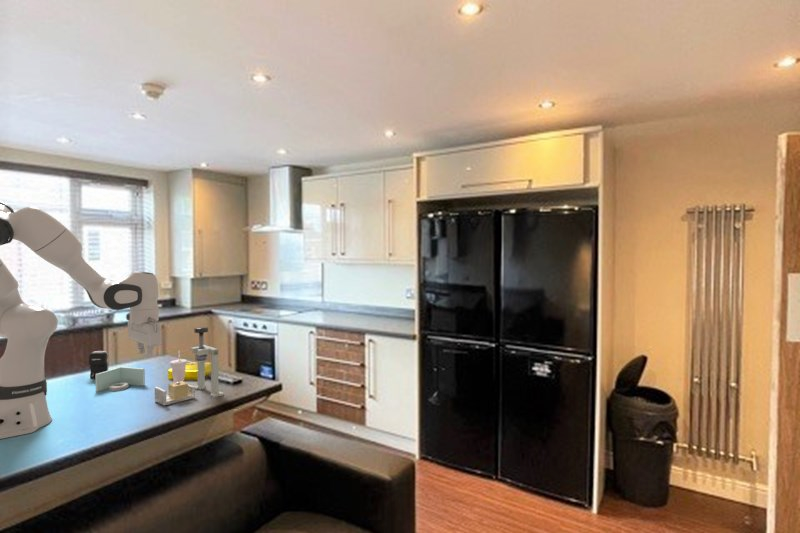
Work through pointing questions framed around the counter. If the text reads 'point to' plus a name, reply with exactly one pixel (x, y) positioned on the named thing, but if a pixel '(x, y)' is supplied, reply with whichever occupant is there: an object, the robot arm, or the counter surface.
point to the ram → (201, 342)
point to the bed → (166, 399)
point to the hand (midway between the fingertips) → (145, 354)
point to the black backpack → (98, 362)
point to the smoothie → (178, 369)
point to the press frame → (214, 369)
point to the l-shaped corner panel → (119, 378)
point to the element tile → (192, 371)
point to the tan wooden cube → (178, 389)
